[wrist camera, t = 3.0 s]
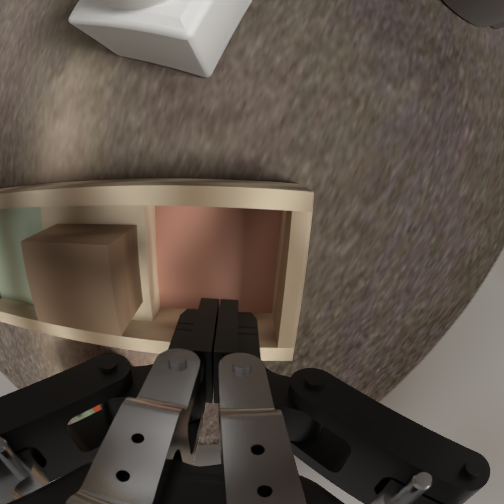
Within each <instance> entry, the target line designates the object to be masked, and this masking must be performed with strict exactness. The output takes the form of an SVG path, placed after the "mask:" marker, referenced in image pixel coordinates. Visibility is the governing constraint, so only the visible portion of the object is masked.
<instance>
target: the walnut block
mask: <svg viewBox="0 0 504 504" xmlns="http://www.w3.org/2000/svg"><path fill="white" fill-rule="evenodd" d="M20 242H21V248H22V254H23V260H24V265H25V270H26V275H27V280H28V284H29V288H30V293H31V297H32V301H33V304H34V308H35V312H36V315H37V318H38V321H40V322H45V323H49V324H54V325H59V326H63V327H69V328H74V329H79V330H85V331H90V332H96V333H102V334H109V335H115V336H122V334H123V333H124V331H125V329H126V328H127V326H128V325H129V323H130V321H131V320H132V318H133V317H134V315H135V313H136V312H137V310H138V309H139V307H140V306H141V304H142V302H143V297H142V288H141V278H140V267H139V254H138V238H137V225H120V224H56V225H53V226H51V227H49V228H47V229H45V230H43V231H41V232H38V233H36V234H34V235H32V236H30V237H28V238H26V239H24V240H22V241H20Z"/></svg>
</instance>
